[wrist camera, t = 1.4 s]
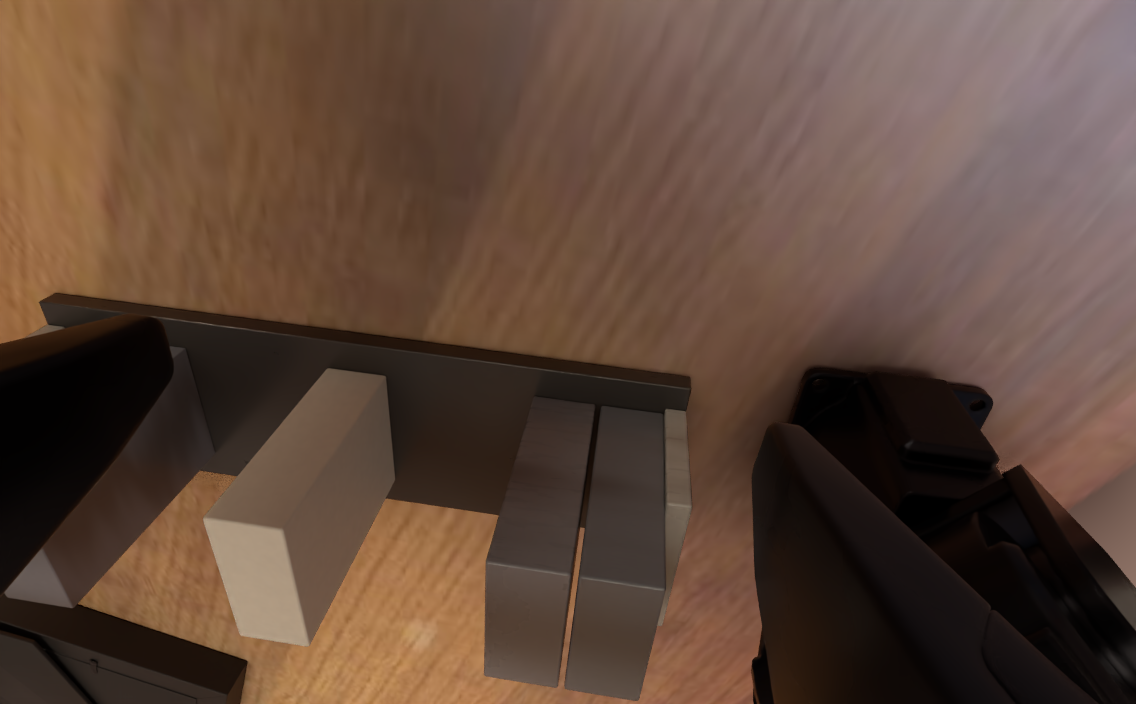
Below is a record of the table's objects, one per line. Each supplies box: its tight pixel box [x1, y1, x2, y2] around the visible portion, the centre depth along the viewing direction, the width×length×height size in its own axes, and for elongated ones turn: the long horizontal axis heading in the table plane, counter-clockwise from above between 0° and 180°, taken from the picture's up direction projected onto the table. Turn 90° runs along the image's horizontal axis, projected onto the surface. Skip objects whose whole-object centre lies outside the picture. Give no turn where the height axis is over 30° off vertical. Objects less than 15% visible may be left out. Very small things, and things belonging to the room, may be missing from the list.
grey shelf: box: [3, 294, 692, 701], centre depth 23 cm, size 8×26×9 cm, turn 85°
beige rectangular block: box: [203, 368, 395, 646], centre depth 23 cm, size 6×2×8 cm, turn 176°
